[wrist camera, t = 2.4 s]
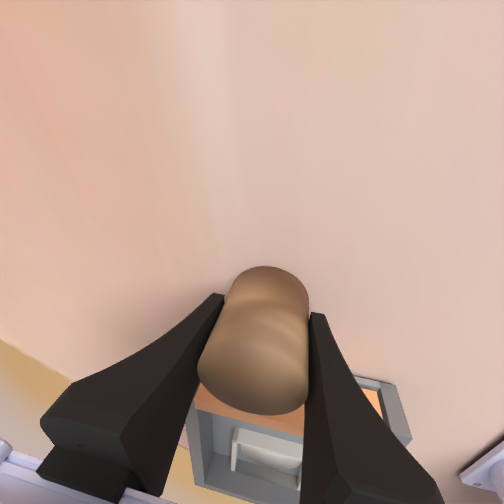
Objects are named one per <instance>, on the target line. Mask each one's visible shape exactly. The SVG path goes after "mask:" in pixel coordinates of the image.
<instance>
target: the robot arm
mask: <svg viewBox="0 0 504 504" xmlns="http://www.w3.org/2000/svg"><path fill="white" fill-rule="evenodd" d="M223 306H224V295H221V294H216V293H213V294H211V295H210V296H209V297H208V298H207V299H206V300H205V301H204V302H203V303H202V304H201V305H200V306H199V307H197V308H196V309H195V310H194V311H193V312H192V313H191V314H190V315H188V316H187V317H186V318H185V319H184V320H183V321H181V322H180V323H179V324H178V325H176V326H175V327H174V328H172V329H171V330H170V331H169V332H167V333H166V334H164V335H163V336H162V337H160V338H159V339H157V340H156V341H154V342H153V343H151V344H150V345H148V346H146V347H145V348H143V349H141V350H140V351H138V352H136V353H135V354H133V355H131V356H129V357H128V358H126V359H124V360H122V361H120V362H118V363H116V364H114V365H112V366H110V367H108V368H106V369H104V370H102V371H100V372H97V373H95V374H93V375H90V376H88V377H86V378H83V379H81V380H79V381H76V382H74V383H72V384H71V385H70V386H69V387H68V388H67V389H66V390H65V391H64V392H63V393H62V394H61V395H60V397H59V398H58V399H57V400H56V401H55V402H54V404H53V405H52V406H51V407H50V408H49V409H48V411H47V412H46V413H45V414H44V415H43V416H42V418H41V419H40V426H41V428H42V429H43V431H44V432H45V434H46V435H47V436H48V437H49V439H50V440H51V441H52V443H53V444H54V445H55V446H54V448H53V449H52V450H51V451H50V453H49V454H48V455H47V457H46V458H45V459H44V460H43V459H40V458H37V457H34V456H31V455H28V454H25V453H22V452H19V451H16V450H13V449H12V446H11V445H10V444H9V443H8V442H6V441H5V440H4V439H2V438H0V504H176V503H173V502H170V501H167V500H164V499H161V498H159V497H160V496H161V495H162V493H163V490H164V486H165V483H166V480H167V477H168V474H169V470H170V467H171V464H172V461H173V457H174V454H175V451H176V448H177V445H178V442H179V439H180V436H181V433H182V430H183V427H184V424H185V421H186V418H187V415H188V412H189V409H190V406H191V403H192V401H193V398H194V395H195V392H196V389H197V387H198V385H199V382H200V379H199V376H198V372H197V365H198V361H199V359H200V357H201V354H202V352H203V350H204V348H205V346H206V343H207V341H208V339H209V337H210V334H211V332H212V330H213V328H214V326H215V323H216V321H217V319H218V317H219V315H220V312H221V310H222V308H223ZM459 476H460V479H461V481H462V483H464V484H466V485H469V486H473V487H477V488H481V489H484V490H488V491H492V492H495V493H497V494H498V496H499V498H500V500H501V502H502V504H504V441H502V442H501V443H500V444H498V445H497V446H496V447H495V448H493V449H492V450H491V451H489V452H488V453H487V454H486V455H484V456H483V457H482V458H480V459H479V460H478V461H476V462H475V463H474V464H473V465H471V466H470V467H469V468H467V469H466V470H465V471H463V472H462V473H461V474H460V475H459ZM299 504H445V502H444V500H443V498H442V495H441V493H440V491H439V489H438V486H437V484H436V482H435V481H434V480H433V478H432V477H431V476H430V475H429V474H428V473H427V472H426V471H425V470H424V468H423V467H422V466H421V465H420V464H419V463H418V462H417V461H416V460H415V458H414V457H413V456H412V455H411V454H410V453H409V452H408V450H407V449H406V448H405V447H404V446H403V444H402V443H401V442H400V441H399V440H398V438H397V437H396V436H395V435H394V433H393V432H392V431H391V429H390V428H389V427H388V426H387V424H386V423H385V422H384V420H383V419H382V418H381V416H380V415H379V414H378V412H377V411H376V410H375V408H374V407H373V405H372V404H371V402H370V401H369V400H368V398H367V397H366V395H365V394H364V392H363V391H362V389H361V387H360V386H359V384H358V383H357V381H356V379H355V378H354V376H353V374H352V373H351V371H350V369H349V367H348V365H347V364H346V362H345V360H344V358H343V356H342V354H341V352H340V350H339V348H338V346H337V344H336V341H335V339H334V337H333V335H332V332H331V330H330V327H329V325H328V322H327V319H326V316H325V315H324V314H320V313H315V312H311V315H310V319H309V356H308V397H307V399H306V401H305V402H304V436H303V455H302V471H301V487H300V501H299Z"/></svg>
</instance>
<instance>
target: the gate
mask: <svg viewBox="0 0 504 504" xmlns="http://www.w3.org/2000/svg"><path fill="white" fill-rule="evenodd" d="M361 389H362V391H363V392H364V394H365V395H366V397H367V398H368V400H369V401H370V402H371V404H372V405H373V407H374V408H375V410H376V411H377V412H378V414H379V415H380V416H381V418H382V419H383V417H382V413H381V409H380V404H379V400H378V396H377V392H376V391H372V390H368V389H364V388H361ZM194 403H195V409H199V410H203V411H206V412H210V413H214V414H218V415H221V416H225V417H229V418H233V419H236V420H240V421H244V422H248V423H251V424H255V425H259V426H263V427H266V428H270V429H274V430H278V431H281V432H285V433H289V434H293V435H296V436H300V437H303V436H304V404H303V405H302V406H301V407H300V408H298V409H296V410H295V411H292V412H290V413H287V414H282V415H274V416H266V415H257V414H251V413H247V412H244V411H240V410H238V409H235V408H233V407H231V406H228V405H227V404H225V403H223V402H221V401H220V400H218V399H217V398H215V397H214V396H213V395H212V394H211V393H210V392H208V390H207V389H206V388H205V387H204V386H203V384H202V383H200V386H199V388H198V391H197V393H196V396H195V398H194Z"/></svg>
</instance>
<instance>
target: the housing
mask: <svg viewBox="0 0 504 504" xmlns="http://www.w3.org/2000/svg"><path fill="white" fill-rule="evenodd" d="M354 378H355V379H356V381H357V383H358V384H359V386H360V387H361V388H364V389H368V390H372V391H376V392H377V396H378V400H379V404H380V409H381V413H382V417H383V420H384V422H385V423H386V424H387V426H388V427H389V428H390V429H391V431H392V432H393V433H394V435H395V436H396V437H397V438H398V440H399V441H400V442H401V443H402V444H403V446H404V447H406V446H407V445H408V444H409V443H410V441H411V440H412V435H411V432H410V429H409V426H408V423H407V420H406V416H405V413H404V410H403V407H402V404H401V401H400V397H399V394H398V391H397V388H396V385H391V384H387V383H382V382H378V381H374V380H369V379H365V378H360V377H356V376H354ZM200 383H201V381H200V382H199V385H198V387H197V389H196V392H195V395H194V398H195V396H196V393H197V391H198V388H199V386H200ZM194 398H193V401H192V403H191V406H190V409H189V412H188V415H187V418H186V421H185V423H186V429H187V436H188V442H189V449H190V455H191V462H192V469H193V475H194V482H195V485H197V486H201V487H204V488H207V489H210V490H213V491H217V492H220V493H223V494H226V495H229V496H233V497H236V498H239V499H242V500H245V501H248V502H252V503H255V504H299V501H300V487H301V471H302V455H303V437H300V436H296V435H293V434H289V433H285V432H281V431H278V430H274V429H270V428H266V427H263V426H259V425H255V424H251V423H248V422H244V421H240V420H236V419H233V418H229V417H225V416H221V415H218V414H214V413H210V412H206V411H203V410H199V409H195V403H194Z"/></svg>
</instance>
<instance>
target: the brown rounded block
mask: <svg viewBox="0 0 504 504" xmlns="http://www.w3.org/2000/svg"><path fill="white" fill-rule="evenodd" d="M308 356H309V298H308V293H307V291H306V289H305V287H304V285H303V284H302V283H301V282H300V281H299V280H298V279H297V278H296V277H295V276H294V275H292V274H290V273H289V272H287V271H284V270H282V269H279V268H275V267H256V268H252V269H249V270H247V271H245V272H243V273H242V274H240V275H239V276H238V277H237V279H236V280H235V281H234V283H233V286H232V288H231V290H230V292H229V295H228V297H227V299H226V301H225V303H224V306H223V308H222V310H221V312H220V315H219V317H218V319H217V321H216V323H215V326H214V328H213V330H212V332H211V334H210V337H209V339H208V341H207V343H206V346H205V348H204V350H203V352H202V354H201V357H200V359H199V361H198V365H197V372H198V376H199V379H200V381H201V383H202V384H203V386H204V387H205V388H206V389H207V390H208V392H210V393H211V394H212V395H213V396H214V397H215V398H217V399H218V400H220V401H221V402H223V403H225V404H227V405H228V406H231V407H233V408H235V409H238V410H240V411H244V412H247V413H251V414H257V415H266V416H274V415H282V414H287V413H290V412H292V411H295V410H296V409H298V408H300V407H301V406H302V405H303V404H304V402H305V401H306V399H307V397H308Z"/></svg>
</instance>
